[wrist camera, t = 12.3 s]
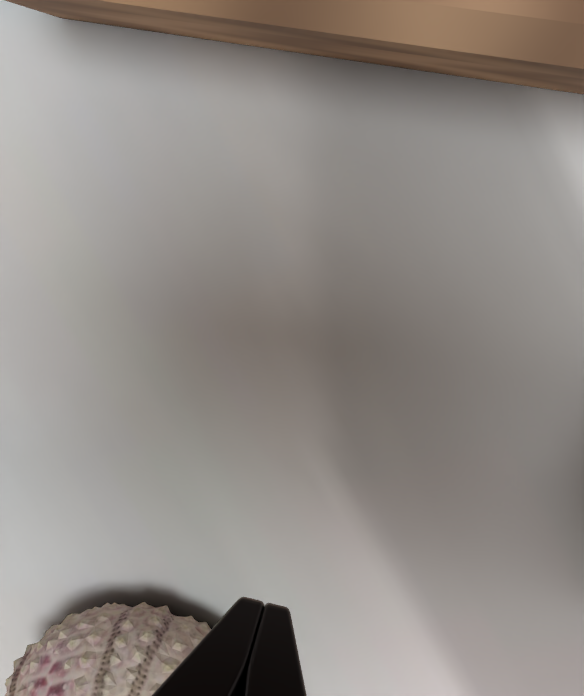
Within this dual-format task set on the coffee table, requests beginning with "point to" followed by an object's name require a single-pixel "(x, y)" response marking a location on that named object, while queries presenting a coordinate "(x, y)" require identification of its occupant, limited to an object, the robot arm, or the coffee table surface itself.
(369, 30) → the brown wooden box
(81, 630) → the sea urchin shell
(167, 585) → the coffee table surface
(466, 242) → the coffee table surface
